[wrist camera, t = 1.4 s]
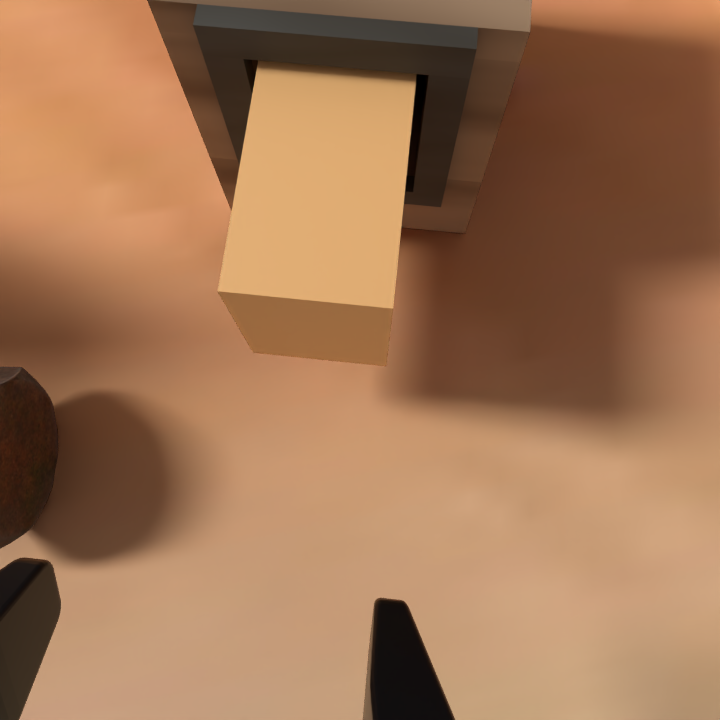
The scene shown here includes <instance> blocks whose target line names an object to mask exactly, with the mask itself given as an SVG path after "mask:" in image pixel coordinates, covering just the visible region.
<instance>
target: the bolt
mask: <svg viewBox="0 0 720 720" xmlns="http://www.w3.org/2000/svg"><path fill="white" fill-rule="evenodd" d="M57 456H58V434H57V425H56V420H55V414H54V408H53V404H52V402H51V399H50V397H49V396H48V394H47V392H46V391H45V390H44V388H43V387H42V386H41V385H40V384H39V383H38V382H37V380H36V379H34V378H33V377H32V376H31V375H30V374H29V373H28V372H27V371H26V370H24V369H23V368H22V367H0V548H2V547H4V546H6V545H8V544H10V543H11V542H13V541H14V540H16V539H17V538H19V537H20V536H22V535H23V534H25V533H26V532H27V531H28V530H29V529H30V528H31V527H32V526H33V525H34V524H35V522H36V521H37V519H38V517H39V515H40V513H41V511H42V509H43V507H44V505H45V503H46V501H47V499H48V496H49V494H50V491H51V489H52V486H53V480H54V473H55V467H56V462H57Z"/></svg>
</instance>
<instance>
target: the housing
mask: <svg viewBox="0 0 720 720" xmlns="http://www.w3.org/2000/svg"><path fill="white" fill-rule="evenodd" d="M147 1H148V3H149V6H150V8H151V11H152V13H153V16H154V18H155V21H156V23H157V26H158V28H159V31H160V33H161V36H162V38H163V41H164V43H165V46H166V48H167V51H168V53H169V56H170V58H171V61H172V63H173V66H174V68H175V71H176V73H177V76H178V78H179V81H180V83H181V86H182V88H183V91H184V93H185V96H186V98H187V101H188V103H189V106H190V108H191V111H192V113H193V116H194V118H195V121H196V123H197V126H198V128H199V131H200V133H201V136H202V138H203V141H204V143H205V146H206V148H207V151H208V153H209V156H210V158H211V161H212V163H213V166H214V168H215V171H216V173H217V176H218V178H219V181H220V183H221V186H222V188H223V191H224V193H225V196H226V198H227V201H228V203H229V206H230V208H231V211H232V206H233V201H234V195H235V189H236V184H237V178H238V172H239V167H240V161H241V155H242V150H243V144H244V138H245V133H246V127H247V121H248V116H249V110H250V104H251V99H252V93H253V87H254V82H255V76H256V70H257V65H258V60H261V61H272V62H284V63H295V64H307V65H318V66H330V67H341V68H353V69H365V70H376V71H388V72H399V73H411V74H417V76H416V86H415V96H414V106H413V116H412V126H411V136H410V146H409V156H408V166H407V176H406V186H405V196H404V206H403V216H402V226H401V227H403V228H413V229H424V230H434V231H445V232H455V233H465V232H466V229H467V226H468V223H469V220H470V217H471V214H472V211H473V208H474V205H475V201H476V198H477V195H478V192H479V189H480V186H481V183H482V180H483V177H484V174H485V170H486V167H487V164H488V161H489V158H490V155H491V152H492V149H493V146H494V143H495V139H496V136H497V133H498V130H499V127H500V124H501V121H502V118H503V115H504V112H505V109H506V105H507V102H508V99H509V96H510V93H511V90H512V87H513V84H514V81H515V78H516V74H517V71H518V68H519V65H520V62H521V59H522V56H523V53H524V50H525V47H526V43H527V40H528V37H529V34H530V27H531V6H532V0H147Z"/></svg>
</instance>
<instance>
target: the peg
mask: <svg viewBox="0 0 720 720" xmlns="http://www.w3.org/2000/svg"><path fill="white" fill-rule="evenodd" d="M416 76H417V74H411V73H399V72H388V71H376V70H365V69H353V68H341V67H330V66H318V65H307V64H295V63H284V62H272V61H261V60H258V65H257V70H256V76H255V82H254V87H253V93H252V99H251V104H250V110H249V116H248V121H247V127H246V133H245V138H244V144H243V150H242V155H241V161H240V167H239V172H238V178H237V184H236V189H235V195H234V201H233V206H232V212H231V218H230V223H229V229H228V234H227V240H226V246H225V251H224V257H223V263H222V268H221V274H220V280H219V285H218V293H219V295H220V296H221V298H222V300H223V302H224V303H225V305H226V307H227V308H228V310H229V312H230V314H231V315H232V317H233V319H234V320H235V322H236V324H237V326H238V327H239V329H240V331H241V332H242V334H243V336H244V338H245V339H246V341H247V343H248V345H249V346H250V348H251V350H252V351H253V353H262V354H272V355H281V356H291V357H301V358H311V359H320V360H330V361H340V362H350V363H359V364H369V365H379V366H386V364H387V356H388V347H389V339H390V331H391V322H392V314H393V305H394V295H395V285H396V275H397V265H398V255H399V245H400V235H401V226H402V216H403V206H404V196H405V186H406V176H407V166H408V156H409V146H410V136H411V126H412V116H413V106H414V96H415V86H416Z"/></svg>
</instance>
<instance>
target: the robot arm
mask: <svg viewBox="0 0 720 720" xmlns="http://www.w3.org/2000/svg"><path fill="white" fill-rule="evenodd" d="M60 610H61V599H60V595H59V591H58V586H57V582H56V577H55V573H54V568H53V566H52V564H51V563H50V562H49V561H47V560H41V559H33V558H19V559H17V560H14V561H13V562H11V563H10V564H8V565H7V566H5V567H4V568H2V569H1V570H0V720H19V719H20V716H21V714H22V711H23V709H24V706H25V704H26V701H27V698H28V696H29V693H30V691H31V688H32V686H33V683H34V681H35V678H36V675H37V673H38V670H39V668H40V665H41V663H42V660H43V657H44V655H45V652H46V650H47V647H48V645H49V642H50V640H51V637H52V634H53V632H54V629H55V627H56V624H57V622H58V619H59V615H60ZM363 720H455V718H454V716H453V713H452V711H451V708H450V706H449V704H448V701H447V699H446V696H445V694H444V692H443V689H442V687H441V684H440V682H439V679H438V677H437V675H436V672H435V670H434V667H433V665H432V663H431V660H430V658H429V655H428V653H427V651H426V648H425V646H424V643H423V641H422V638H421V636H420V634H419V631H418V629H417V626H416V624H415V622H414V619H413V617H412V614H411V612H410V610H409V607H408V605H407V604H406V603H405V602H404V601H402V600H395V599H386V598H378V599H376V601H375V603H374V609H373V618H372V626H371V635H370V644H369V654H368V666H367V677H366V689H365V700H364V712H363Z"/></svg>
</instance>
